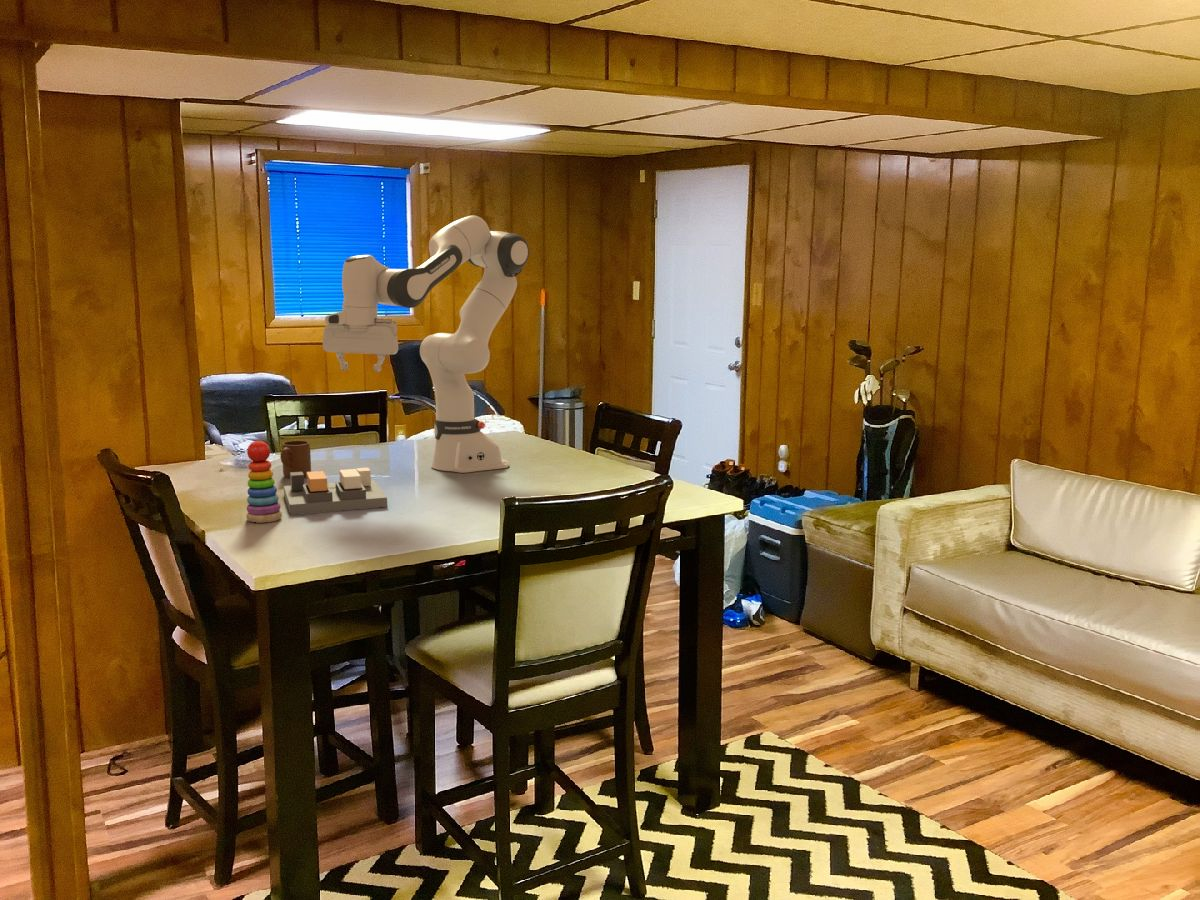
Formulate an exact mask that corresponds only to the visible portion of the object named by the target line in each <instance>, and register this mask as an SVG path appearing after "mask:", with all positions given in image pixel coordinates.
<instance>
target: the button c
mask: <svg viewBox="0 0 1200 900" xmlns="http://www.w3.org/2000/svg"><path fill="white" fill-rule="evenodd" d="M327 483H328V478H327V476H326V474H325V472H324V471H323V470H319V471H318V470H317V471H315V470H314V471H311V472H307V477H306V484H307V485H308V487H309V489H310V492H312V491H326V490H327Z"/></svg>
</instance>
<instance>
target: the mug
mask: <svg viewBox="0 0 1200 900" xmlns="http://www.w3.org/2000/svg"><path fill="white" fill-rule="evenodd" d="M280 451H281V452H280V454H279V455H280V461H281V463H282V473H283V474H282V475H283V477H285V478H288V479H290V472H303V474H304V478H307V472H312V461H311V460H312V458H311V457H312V456H311V444H310V442H309V441H308V440H307V441H305V440H290V441H285V442H282V444H281V450H280Z"/></svg>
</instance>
